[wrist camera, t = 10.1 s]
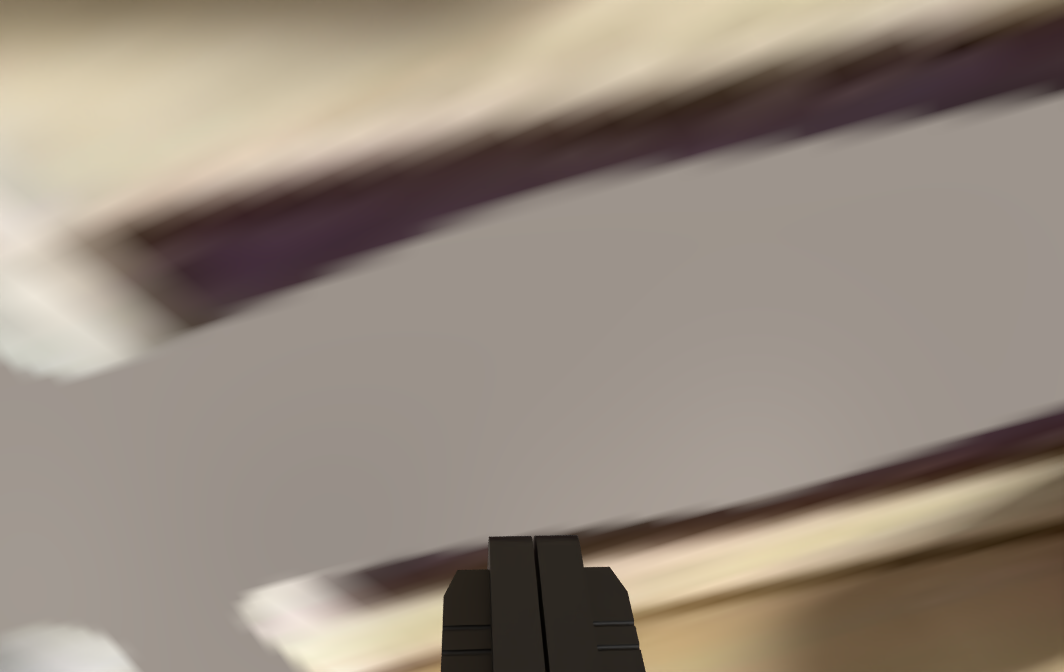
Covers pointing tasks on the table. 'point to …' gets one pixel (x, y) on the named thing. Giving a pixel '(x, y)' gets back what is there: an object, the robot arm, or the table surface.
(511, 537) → the robot arm
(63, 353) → the table surface
